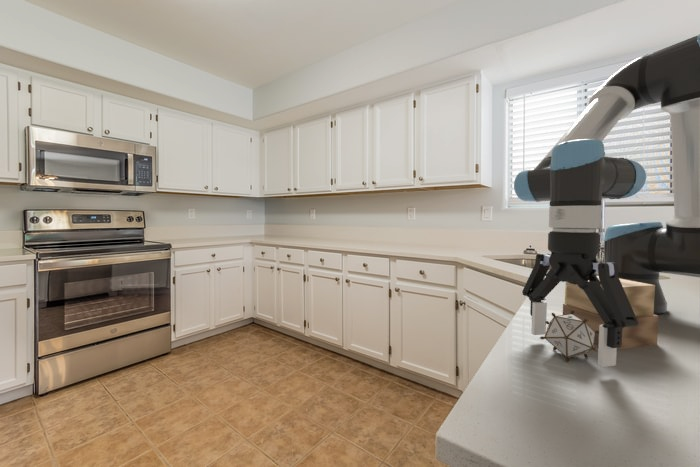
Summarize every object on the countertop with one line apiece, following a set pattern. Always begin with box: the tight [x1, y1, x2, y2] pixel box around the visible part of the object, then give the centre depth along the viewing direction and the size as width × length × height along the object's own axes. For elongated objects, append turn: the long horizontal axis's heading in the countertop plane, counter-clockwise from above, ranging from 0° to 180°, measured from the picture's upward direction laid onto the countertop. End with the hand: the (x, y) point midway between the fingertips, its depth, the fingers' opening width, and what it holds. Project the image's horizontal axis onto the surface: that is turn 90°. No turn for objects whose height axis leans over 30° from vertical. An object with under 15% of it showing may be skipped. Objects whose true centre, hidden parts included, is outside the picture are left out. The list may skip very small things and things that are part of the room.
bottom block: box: [562, 303, 660, 350], centre depth 66 cm, size 11×11×6 cm
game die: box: [539, 310, 599, 363], centre depth 57 cm, size 9×8×10 cm
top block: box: [567, 275, 655, 317], centre depth 66 cm, size 10×10×6 cm
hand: (568, 348), depth 57 cm, fingers open, 13 cm apart
